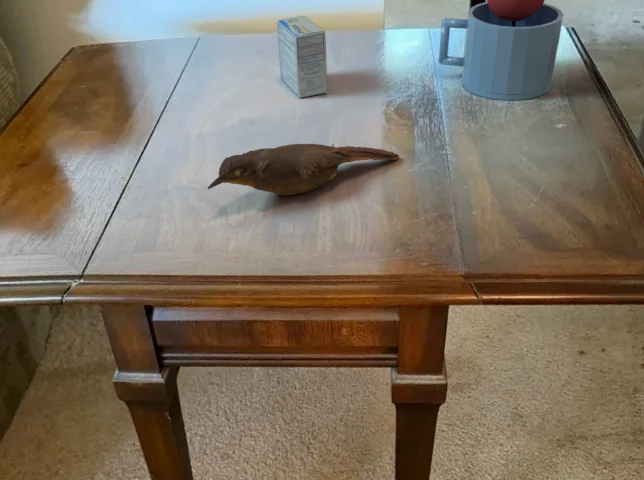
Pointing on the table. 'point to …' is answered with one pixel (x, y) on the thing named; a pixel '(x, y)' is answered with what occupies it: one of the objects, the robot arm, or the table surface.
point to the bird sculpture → (292, 166)
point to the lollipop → (514, 9)
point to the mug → (505, 52)
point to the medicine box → (302, 56)
